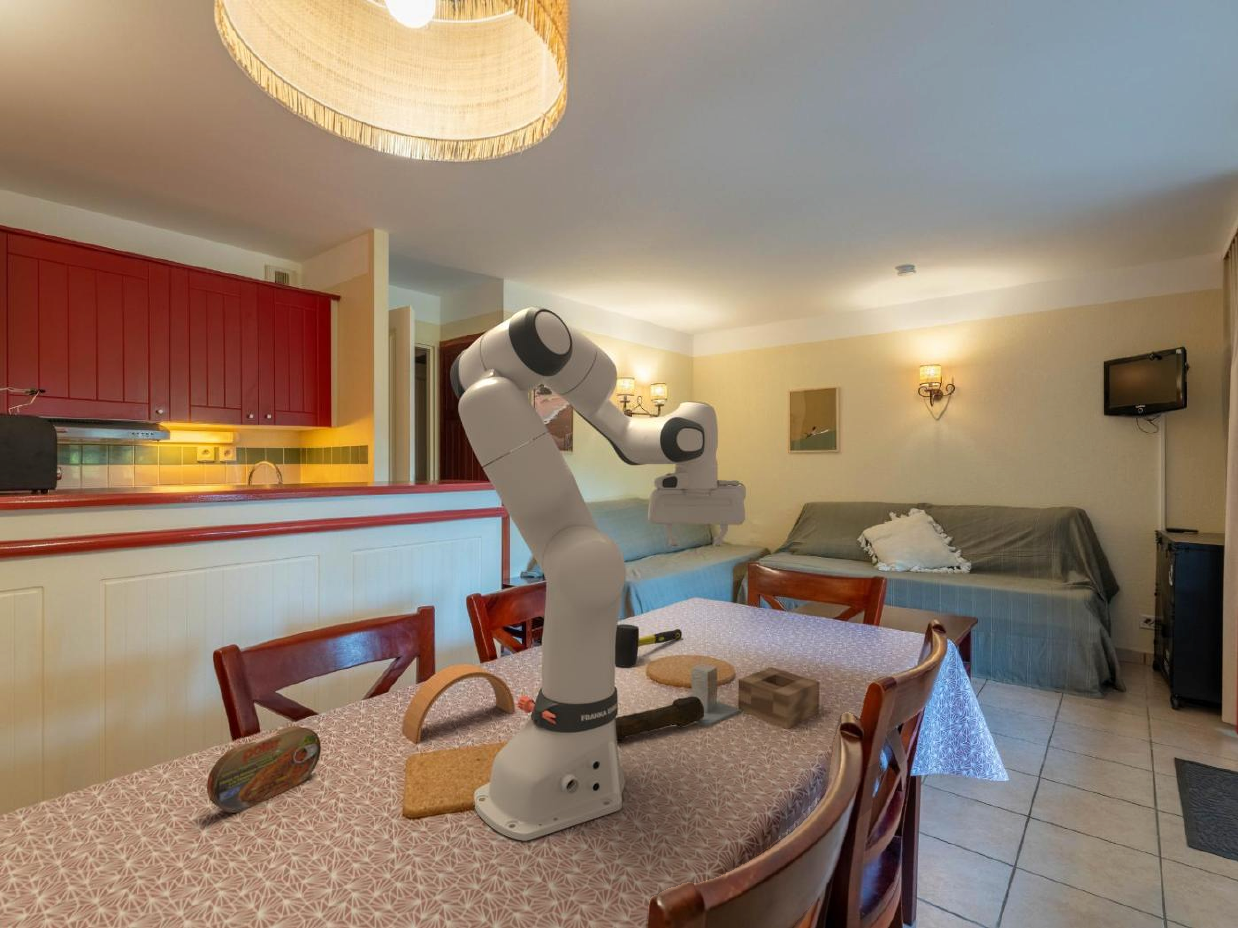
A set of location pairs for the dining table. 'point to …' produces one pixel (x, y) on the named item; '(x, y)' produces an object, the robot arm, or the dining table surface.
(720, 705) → the pad
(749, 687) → the block with square hole
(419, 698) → the arch
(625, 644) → the mallet
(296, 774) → the tin
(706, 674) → the gray rectangular block
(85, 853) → the dining table surface
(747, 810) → the dining table surface
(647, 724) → the hand tool
